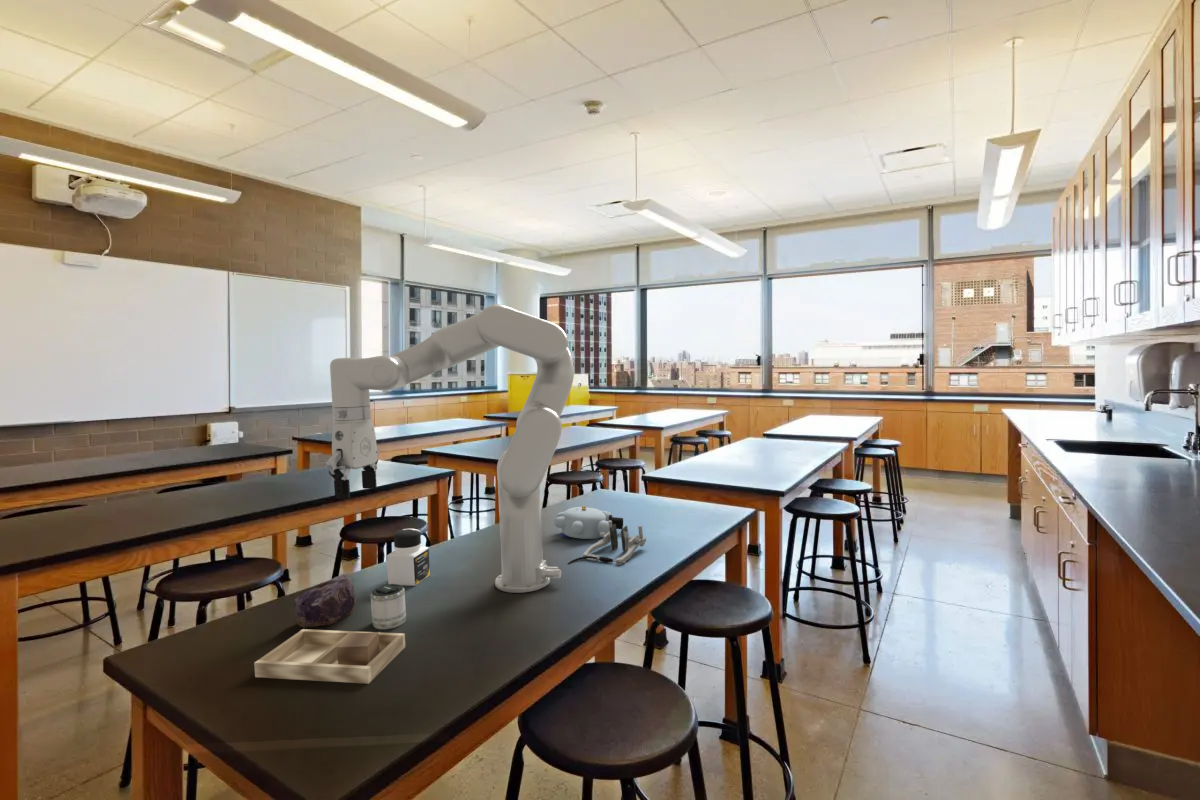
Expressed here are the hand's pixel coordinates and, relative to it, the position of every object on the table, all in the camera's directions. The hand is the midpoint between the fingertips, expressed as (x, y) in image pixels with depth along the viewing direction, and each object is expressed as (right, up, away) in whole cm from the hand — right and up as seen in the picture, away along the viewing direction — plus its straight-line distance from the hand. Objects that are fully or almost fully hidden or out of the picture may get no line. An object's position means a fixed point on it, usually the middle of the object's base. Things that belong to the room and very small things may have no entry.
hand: (356, 493), depth 126 cm
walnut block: (+12, -24, -28) cm, 39 cm away
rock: (-1, -25, -10) cm, 26 cm away
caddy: (+8, -25, -27) cm, 38 cm away
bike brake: (+56, -21, +25) cm, 65 cm away
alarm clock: (+50, -20, +45) cm, 70 cm away
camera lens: (+12, -24, -13) cm, 30 cm away
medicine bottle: (+8, -23, +12) cm, 27 cm away
